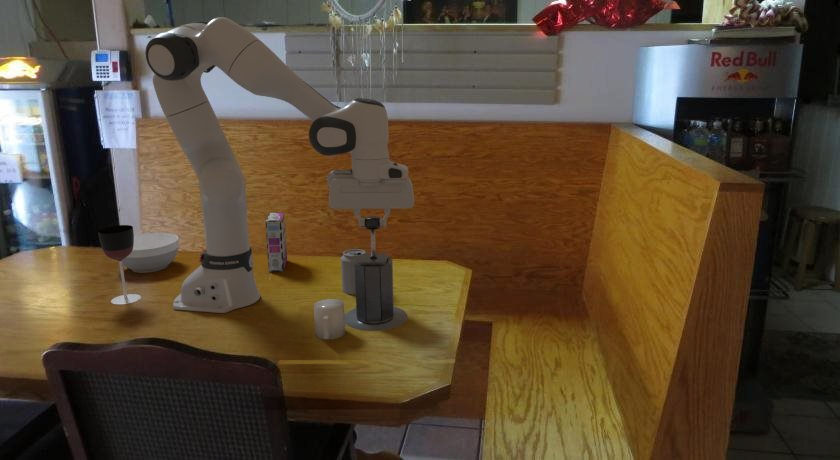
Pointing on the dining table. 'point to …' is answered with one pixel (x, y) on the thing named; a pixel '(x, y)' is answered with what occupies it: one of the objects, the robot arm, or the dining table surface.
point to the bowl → (152, 252)
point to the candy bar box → (276, 242)
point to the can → (349, 270)
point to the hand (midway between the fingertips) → (372, 226)
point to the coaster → (352, 321)
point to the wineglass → (119, 253)
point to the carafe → (374, 289)
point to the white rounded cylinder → (329, 319)
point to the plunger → (372, 232)
